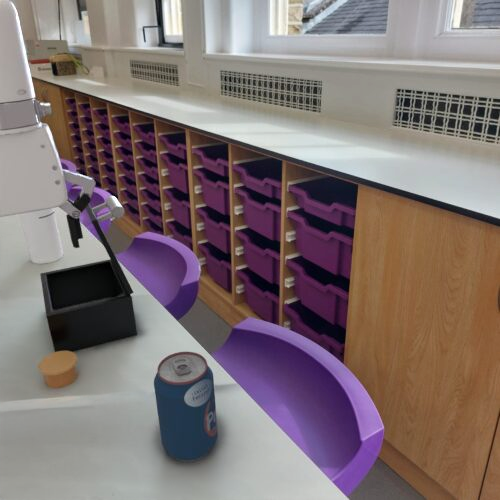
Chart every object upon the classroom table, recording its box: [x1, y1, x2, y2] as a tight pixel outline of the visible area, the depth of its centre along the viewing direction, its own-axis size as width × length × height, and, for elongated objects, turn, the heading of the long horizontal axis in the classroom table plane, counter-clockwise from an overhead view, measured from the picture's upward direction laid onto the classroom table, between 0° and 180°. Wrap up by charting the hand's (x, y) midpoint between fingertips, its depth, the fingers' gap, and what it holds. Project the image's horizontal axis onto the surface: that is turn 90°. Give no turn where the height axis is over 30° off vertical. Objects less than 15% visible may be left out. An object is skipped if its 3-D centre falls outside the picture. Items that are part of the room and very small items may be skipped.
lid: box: [77, 190, 134, 295], centre depth 81 cm, size 14×16×5 cm
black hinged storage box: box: [39, 258, 138, 353], centre depth 83 cm, size 13×16×9 cm
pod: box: [38, 351, 78, 389], centre depth 71 cm, size 5×5×4 cm
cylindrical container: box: [19, 208, 64, 265], centre depth 108 cm, size 7×7×25 cm
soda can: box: [153, 351, 219, 463], centre depth 59 cm, size 7×7×12 cm
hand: (37, 252), depth 63 cm, fingers open, 9 cm apart
